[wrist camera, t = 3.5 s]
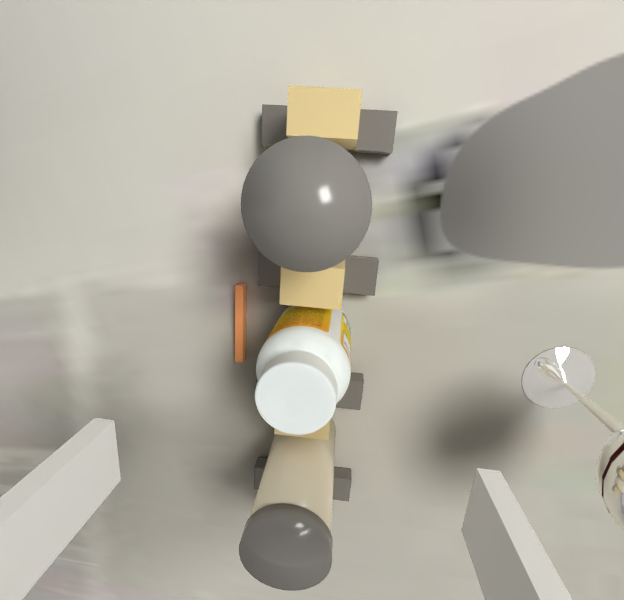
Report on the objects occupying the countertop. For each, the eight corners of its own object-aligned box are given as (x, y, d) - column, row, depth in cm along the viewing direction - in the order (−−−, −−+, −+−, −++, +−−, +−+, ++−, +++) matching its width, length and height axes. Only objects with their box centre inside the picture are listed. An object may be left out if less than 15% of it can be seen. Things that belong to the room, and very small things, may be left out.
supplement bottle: (365, 327, 25) (376, 401, 16) (317, 374, 26) (301, 466, 17) (310, 279, 24) (289, 326, 15) (264, 329, 26) (219, 401, 17)
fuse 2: (275, 451, 29) (238, 582, 19) (278, 400, 27) (239, 513, 18) (334, 458, 29) (327, 596, 19) (339, 407, 27) (335, 527, 17)
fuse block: (237, 474, 30) (217, 526, 25) (238, 108, 22) (208, 82, 17) (348, 489, 29) (349, 545, 25) (394, 116, 21) (408, 91, 16)
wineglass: (488, 386, 25) (605, 541, 14) (557, 316, 23) (760, 429, 12) (558, 434, 26) (727, 620, 14) (632, 369, 24) (893, 526, 12)
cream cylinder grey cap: (284, 238, 24) (240, 267, 14) (288, 161, 22) (241, 131, 12) (356, 244, 23) (364, 277, 13) (364, 166, 22) (379, 139, 12)
